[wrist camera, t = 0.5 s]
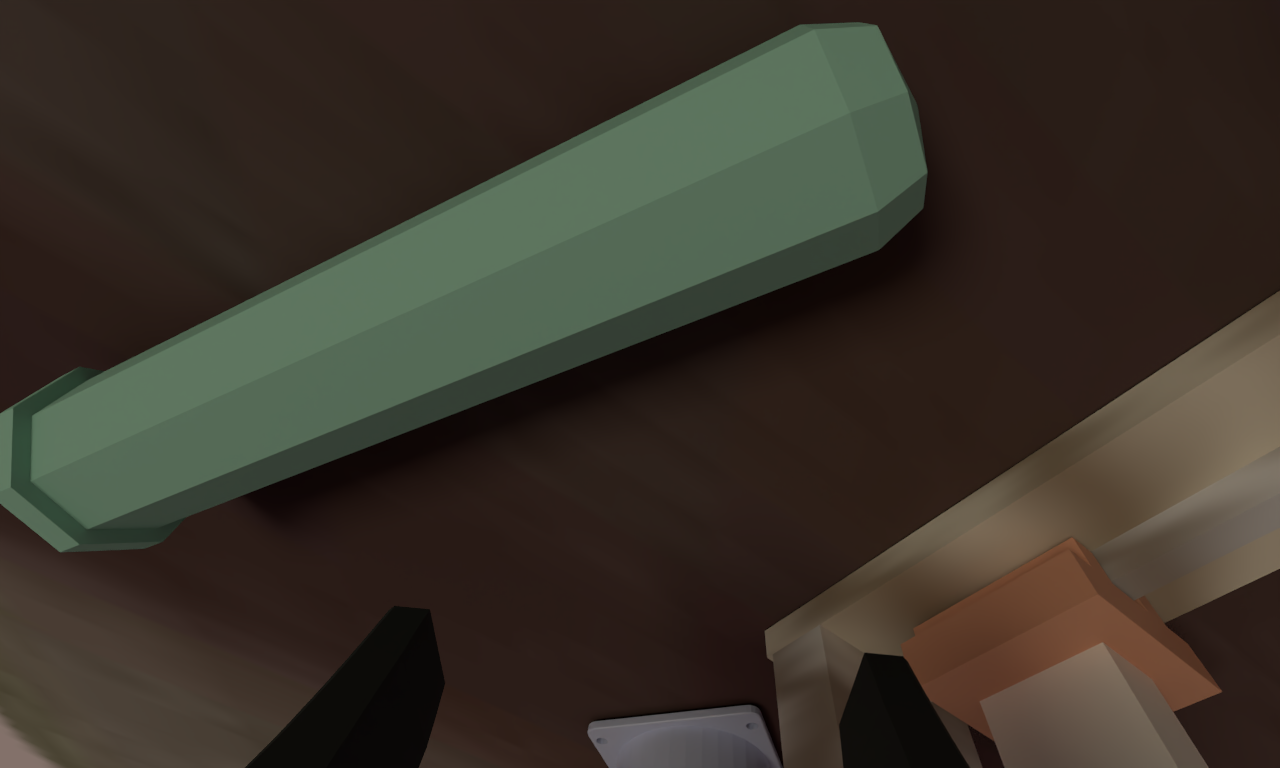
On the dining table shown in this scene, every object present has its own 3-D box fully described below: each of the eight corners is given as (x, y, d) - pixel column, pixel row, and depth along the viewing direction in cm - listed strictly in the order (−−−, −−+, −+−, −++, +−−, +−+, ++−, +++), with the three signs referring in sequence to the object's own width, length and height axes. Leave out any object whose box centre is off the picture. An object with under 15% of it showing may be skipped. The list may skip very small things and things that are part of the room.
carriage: (1002, 689, 24) (1116, 961, 17) (891, 614, 22) (970, 882, 16) (1164, 611, 21) (1374, 901, 14) (1049, 519, 19) (1228, 797, 13)
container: (970, 36, 9) (-67, 512, 16) (982, 295, 14) (160, 583, 21) (849, -97, 13) (44, 338, 20) (888, 142, 17) (217, 430, 24)
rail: (900, 716, 28) (950, 906, 22) (762, 632, 25) (779, 818, 20) (1609, 360, 17) (2068, 553, 11) (1474, 161, 15) (1957, 276, 9)
